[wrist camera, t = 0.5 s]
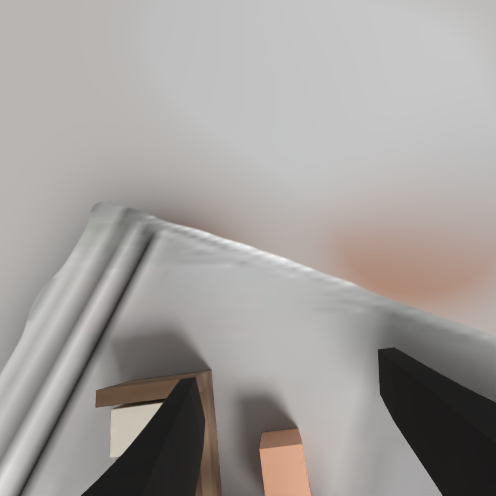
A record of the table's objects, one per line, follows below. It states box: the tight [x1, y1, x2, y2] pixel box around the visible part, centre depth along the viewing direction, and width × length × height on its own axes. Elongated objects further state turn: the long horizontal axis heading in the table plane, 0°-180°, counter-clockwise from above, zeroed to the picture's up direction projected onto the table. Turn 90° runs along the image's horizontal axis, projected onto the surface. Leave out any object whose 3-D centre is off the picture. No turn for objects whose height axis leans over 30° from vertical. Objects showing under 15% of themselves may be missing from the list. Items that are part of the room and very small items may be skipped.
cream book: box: [110, 398, 166, 458], centre depth 29 cm, size 4×6×5 cm, turn 98°
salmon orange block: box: [259, 428, 311, 496], centre depth 27 cm, size 4×6×5 cm, turn 8°
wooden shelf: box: [95, 370, 222, 496], centre depth 27 cm, size 18×10×7 cm, turn 8°
